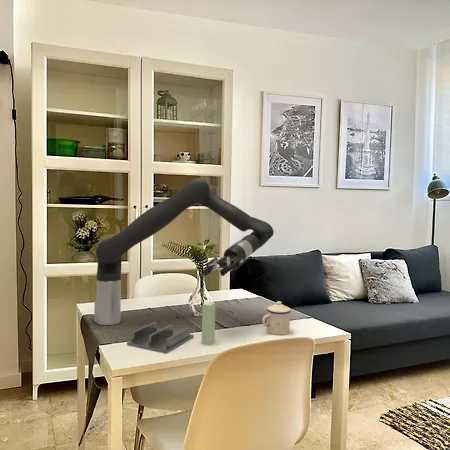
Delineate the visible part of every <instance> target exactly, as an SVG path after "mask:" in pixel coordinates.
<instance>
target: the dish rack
mask: <svg viewBox="0 0 450 450" xmlns="http://www.w3.org/2000/svg"><path fill="white" fill-rule="evenodd" d="M194 336H195V335H194V334H192V333H191V329H190V327H185V328H184V329H182V330H180V331H175V330H174V324H169V325H167V326H165V327H163V328H160V327H158V322H157V321H153V322H151V323H149V324H147V325H146V324H145V326H142V327H140V328H138V329H136V330H134V331H131V340H128V341H127V342H126V345H127V346H130V347H134V348H140V349H144V350H149V351H154V352H158V353H163V354H168V353H170V352H172V351H174V350H175V349H177V348H178V347H180V346H182V345H183V344H186V342H188V341H190V340H192V339H193V338H194Z"/></svg>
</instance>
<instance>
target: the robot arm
mask: <svg viewBox="0 0 450 450" xmlns="http://www.w3.org/2000/svg"><path fill="white" fill-rule="evenodd" d="M196 204H199V205H202V206H203V207H205V208H207V209H209V210H211V211H213V212H214V213H215V214H217V215H218V216H219V217H221V218H223V219H224V220H225V221H226V222H227V223H229V224H230V225H232V226H233V227H235V228H236V229H238V230H239V231H240V232H247V231H248V230H252V232H251V233H250V234H247V235H245V236H243V238H241V239H240V240H238V241H236V242H234V243H233V244H232V245H231V246H229V247H228V248H227V249H226V250H225V251H223V252H224V253H223V256H221V257H219V259H218V257H213V259H211V260H210V261H208V262H207V263H205V266H206V267H205V268H204V269H203V270H202V274H203V276H206V277H207V276H208V275H210V273H212V272H213V271H215V270H217V271H219V274H220V276H221V277H224V276H225V275H226V274H228V273H229V272H232V271H238V269H239V268H241V266H243V265H244V264H245V261H246V260H247V259H249V257H250V256H251V255H253V254H254V253H255V252H256V251H257V250H259V249H260V248H262V247H263V246H264V245H265V244H266V243H267V242H268V241H269V240H270V239H271V238H272V237H273V235H274V228H273V227H272V225H271V224H270V223H268V222H267V221H264V220H261V219H258V218H256V217H254V216H251V215H249V214H248V213H246V212H245V211H244V210H242V209H240V208H239V207H238V206H235V205H234V204H232V203H230V202H229V201H226V200H224V199H223V198H221V197H220V196H219V195H218V194H216V193H215V192H214V191H213V190H212V189H211V188H210V185H209V183H208V182H207V180H206V179H203V178H200V177H199V178H198V177H197V178H193V179H191V180H190V181H188V183H186V184H185V185H184V186H183V187H182V188H181V189H180V190H178V191H177V192H175V194H173V195H171V196H170V197H168V198H166V199H164V200H162V201H160V202H158V203H157V204H155V205H154V206H152V207H150V208H149V209H147V210H146V211H145V212H143V213H141V214H139V216H137V218H136V219H134V220H133V221H132V222H131V223H129V225H128V226H127V227H125V228H124V229H123V230H121V231H120V232H118V233H116V234H115V235H113V236H111V237H109V238H108V237H107V238H104V239H103V240H101V241H100V242H99V244H98V245H97V246H96V249H95V255H96V258H97V267H96V297H95V298H94V307H93V308H94V309H93V310H94V319H93V320H94V321H93V322H94V323H96V324H97V325H101V326H112V325H117V324H119V323H120V322H121V312H122V311H121V310H122V309H121V305H122V304H121V301H122V299H121V298H122V297H121V296H122V293H121V291H122V290H121V289H122V285H121V283H122V280H121V279H122V256H123V255H124V254H126V253H127V252H128V251H129V250H131V249H132V248H133V247H134V246H136V245H138V244H139V243H141V242H143V241H145V240H147V239H149V238H151V237H152V236H154V235H155V234H156V233H158V232H159V231H162V230H163V229H164V228H165V227H167V226H168V225H169V224H171V223H172V222H173V221H174V220H176V219H177V217H178V216H180V215H181V214H182V213H183V212H184V211H186V210H188V209H189V208H191V207H192V206H195V205H196Z"/></svg>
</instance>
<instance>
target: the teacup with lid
mask: <svg viewBox="0 0 450 450" xmlns="http://www.w3.org/2000/svg"><path fill="white" fill-rule="evenodd" d="M266 312H267V314H264V315H263V317H262V320H261V322H262V325H263V327H265V328H266V331H267V332H268V333H269V334H272V335H275V336H283V335H287V334H289V333H290V325H291V324H290V323H291V322H290V321H291V320H290V319H291V308H290V307H288V306H286V305H284V304H282V301H280V300H279V301H276V303H274V304H273V305H272V304H271V305H268V307H266Z"/></svg>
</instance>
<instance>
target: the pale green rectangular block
mask: <svg viewBox="0 0 450 450" xmlns="http://www.w3.org/2000/svg"><path fill="white" fill-rule="evenodd" d="M201 313H202V318H201V319H202V321H201V325H202V326H201V344H202V345H208V346H210V345H211V344H213V343H214V342H215V335H216V334H215V333H216V332H215V331H216V302H211V301H206V302H204V303H202V312H201Z"/></svg>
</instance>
